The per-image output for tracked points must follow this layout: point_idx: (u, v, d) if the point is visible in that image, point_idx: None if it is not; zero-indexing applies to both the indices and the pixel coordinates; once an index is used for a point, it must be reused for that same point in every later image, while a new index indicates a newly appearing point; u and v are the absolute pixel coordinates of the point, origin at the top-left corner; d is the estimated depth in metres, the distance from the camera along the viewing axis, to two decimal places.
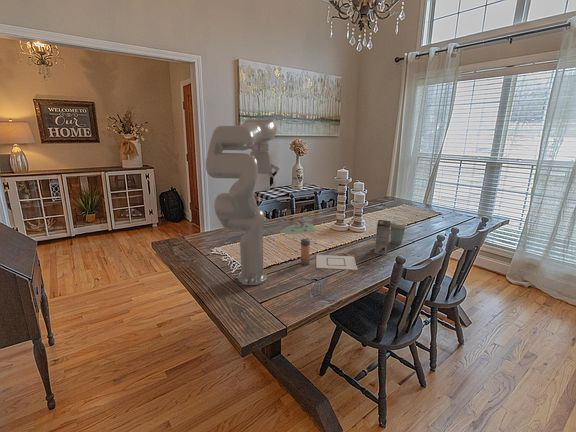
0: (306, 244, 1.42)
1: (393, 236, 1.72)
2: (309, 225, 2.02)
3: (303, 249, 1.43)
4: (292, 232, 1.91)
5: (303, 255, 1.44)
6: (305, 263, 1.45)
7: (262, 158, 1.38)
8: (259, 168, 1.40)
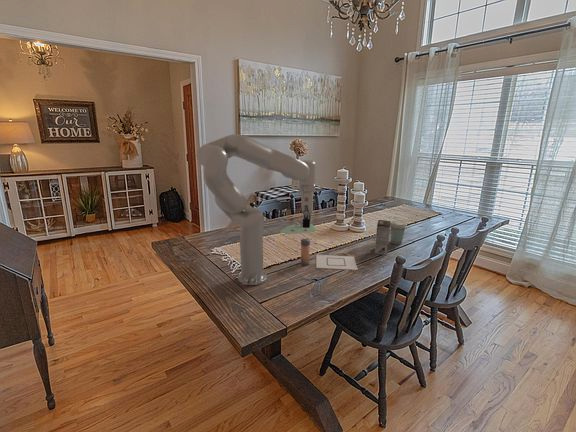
0: (306, 244, 1.42)
1: (393, 236, 1.72)
2: None
3: (303, 249, 1.43)
4: (292, 232, 1.91)
5: (303, 255, 1.44)
6: (305, 263, 1.45)
7: None
8: None
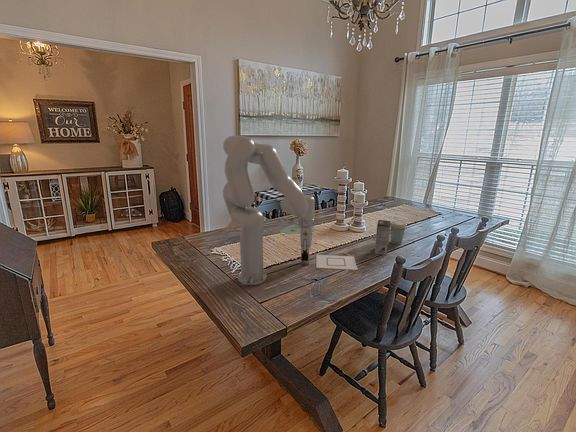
0: None
1: (393, 236, 1.72)
2: None
3: None
4: (292, 232, 1.91)
5: None
6: (305, 263, 1.45)
7: None
8: (311, 240, 1.43)
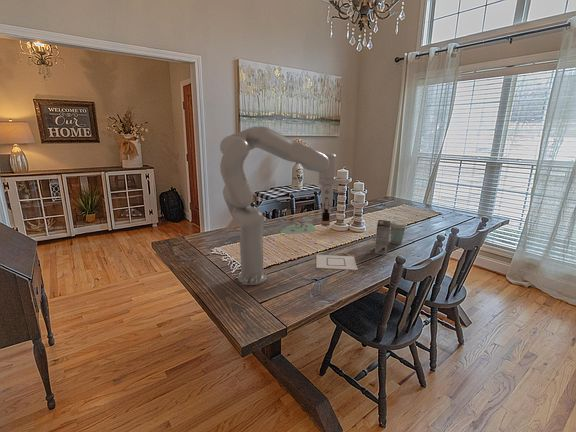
0: None
1: (393, 236, 1.72)
2: (309, 225, 2.02)
3: None
4: (292, 232, 1.91)
5: None
6: (326, 224, 1.42)
7: None
8: None
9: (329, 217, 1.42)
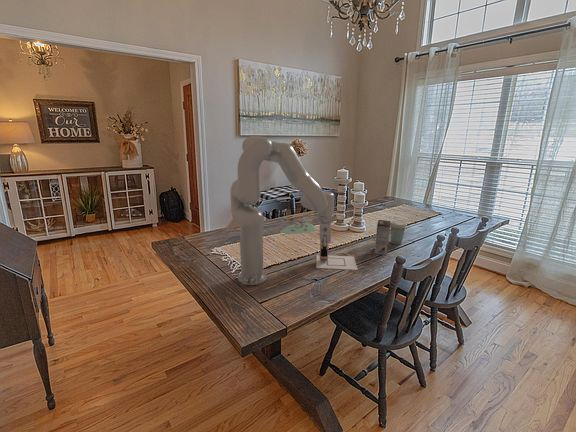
0: None
1: (393, 236, 1.72)
2: (309, 225, 2.03)
3: None
4: (292, 232, 1.91)
5: None
6: (324, 259, 1.47)
7: None
8: None
9: None
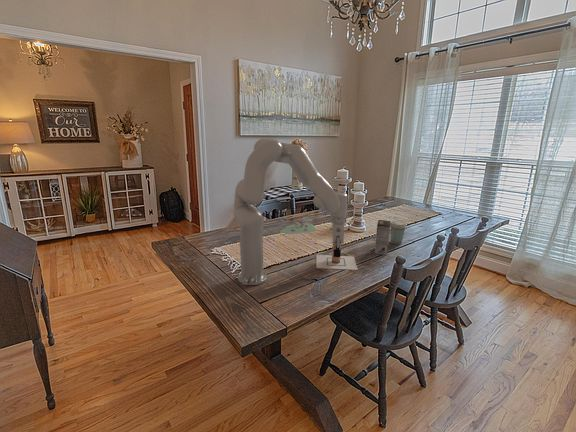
0: None
1: (393, 236, 1.72)
2: (309, 225, 2.03)
3: None
4: (292, 232, 1.91)
5: None
6: (336, 261, 1.46)
7: None
8: None
9: None
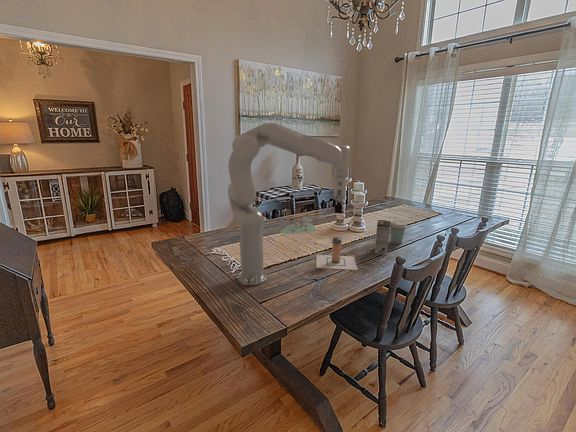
0: (338, 242, 1.44)
1: (393, 236, 1.72)
2: (309, 225, 2.03)
3: (335, 247, 1.45)
4: (293, 232, 1.91)
5: (335, 253, 1.45)
6: (336, 261, 1.46)
7: None
8: None
9: None
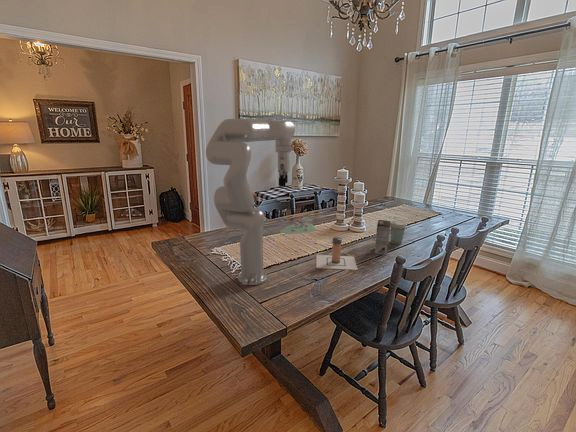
0: (338, 242, 1.44)
1: (393, 236, 1.72)
2: (309, 225, 2.03)
3: (335, 247, 1.45)
4: (293, 232, 1.91)
5: (335, 253, 1.45)
6: (336, 261, 1.46)
7: None
8: None
9: None
